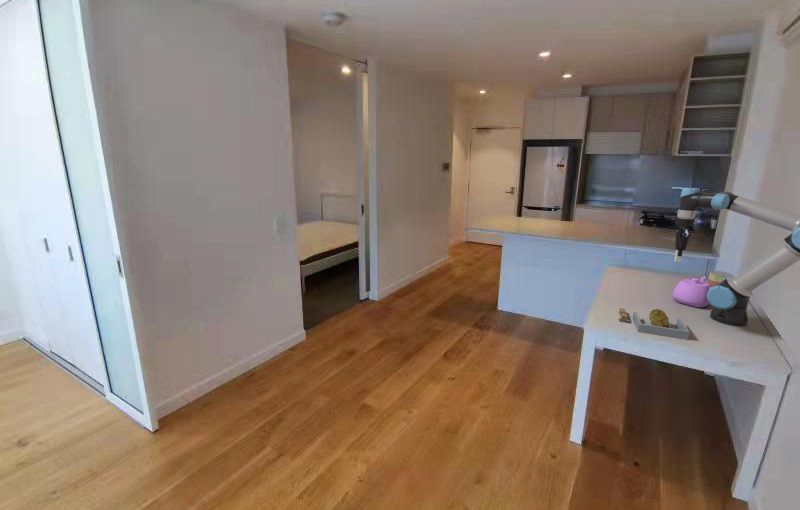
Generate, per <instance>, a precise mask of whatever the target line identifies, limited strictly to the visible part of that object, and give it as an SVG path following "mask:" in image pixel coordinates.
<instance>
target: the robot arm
mask: <svg viewBox="0 0 800 510" xmlns="http://www.w3.org/2000/svg"><path fill="white" fill-rule="evenodd" d="M697 208H701V209H702V208H703V209H711V210H712V209H713V210H716V211H717V210H728V211H731V212H735V213H737V214H739V215H743V216H746V217H748V218H749V217H750V218H752V219H755V220H758V221H760V222H764V223H767V224H769V225H773V226H775V227H778V228H782V229H784V230H787V231H789V232H792V233H790V234H789V235H787V236H786V237H785V238H783V244H781V245H780V246H779V247H777V248H776V249H774V250H772V251H770V253H768V254H767V255H765V256H764V257H762V258H761V259H760V260H758V261H756V262H755V263H753V264H752V265H751V266H749V267H748V268H746V269H745V270H743V271H742V272H740V273H738V274H737V275H736V276H735V277H734V276H733V277H730V276H726V277H724V279H723V280H722V282H721V283H719V284H718V285H716V286H714V287H712V288H710V290H709V291H708V292H707V299H708V301H709V302H710V304H709V305H711V306H713V308H712V310H710V314H709V317H710V318H711V319H712V320H714V321H715V322H718V323H721V324H725V325H729V326H735V327H745V326H748V322H749V316H748V311H747V309H748V305H749V301H750V298H751V296H752V291H753V290H756V289H757V288H758V287H760V286H762V285H763V284H765V283H766V282H768V281H770V279H772V278H775V276H777V275H779V274H780V273H782V272H784V271H785V270H786V269H788V268H790V267H791V266H793V265H794V264H796V263H797V262H799V261H800V214H797V213H793V212H790V211H787V210H784V209H782V208H778V207H774V206H772V205H768V204H765V203H762V202H758V201H756V200H753V199H750V198H746V197H743V196H740V195H737V194H735V193H733V192H731V191H722V192H714V193H713V192H712V193H711V192H710V193H709V192H701V189H700V188H699V187H697V188H696V187H685V188H683V189H682V190H681V193H680V196H679V203H678V208H677V209H678V210H677V211H676V213H677V214H676V215H677V218H676V221H675V225H676V226H678V228H676V229H675V230H676V231H675V232H676V233H675V245H674V247H675V254H674V260H673V261H674V262H675V263H676V262H678V263H681V262H682V260H683V252H684V251H685V250H686V249H687V245H688V241H689V238H690V236H691V233H690V229H689V228H690V227H693V226H694V223H695V218H696V213H697Z"/></svg>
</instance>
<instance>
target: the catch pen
mask: <svg viewBox="0 0 800 510" xmlns="http://www.w3.org/2000/svg"><path fill="white" fill-rule="evenodd" d="M632 321H633V323H634V325H635V328H636V331H637V333H645V334H649V335H657V336H662V337H666V338H674V339H681V340H686V341H689V336H690V334H691V331H690V330H689V329H688V327H687V326H686V325H685V323H684V322H683V319H682V318H680V317H677V319H676V323H675V326H676V327H677V328H671V327H669V328H666V327H660V326H653V325H652V324H646V323H642V321H641V319H640V317H639V315H638V313H637V311H633V314H632Z"/></svg>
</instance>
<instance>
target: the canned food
mask: <svg viewBox="0 0 800 510" xmlns="http://www.w3.org/2000/svg"><path fill="white" fill-rule="evenodd" d="M726 276H730V277H734V274H732V273H729V272H725V271H719V270H709V275H708V277H707V278H708V279H707V282H706V283H708V284H710V286H711V288H712V287H714V286H716V285H718V284H719V283H721V282H722V280H723V279H724V277H726Z"/></svg>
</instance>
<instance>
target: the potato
mask: <svg viewBox="0 0 800 510" xmlns="http://www.w3.org/2000/svg"><path fill="white" fill-rule="evenodd" d="M648 318H649V321H650V325H653V326H660V327H666V328H670V322H669V317H668V315H667V314H666V313H665V311H663V310H662V309H660V308H659V309H658V308H657V309H652V310H651V311H649V317H648Z"/></svg>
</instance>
